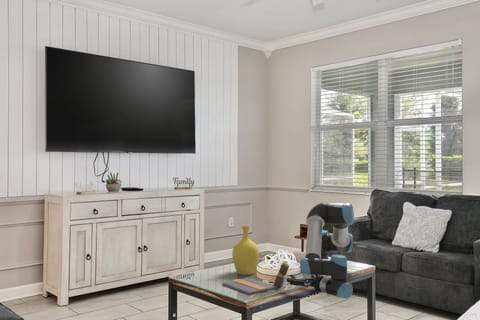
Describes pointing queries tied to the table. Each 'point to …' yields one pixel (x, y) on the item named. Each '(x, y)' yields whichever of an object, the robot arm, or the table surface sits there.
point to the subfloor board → (249, 286)
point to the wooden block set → (282, 275)
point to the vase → (245, 254)
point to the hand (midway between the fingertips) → (293, 276)
